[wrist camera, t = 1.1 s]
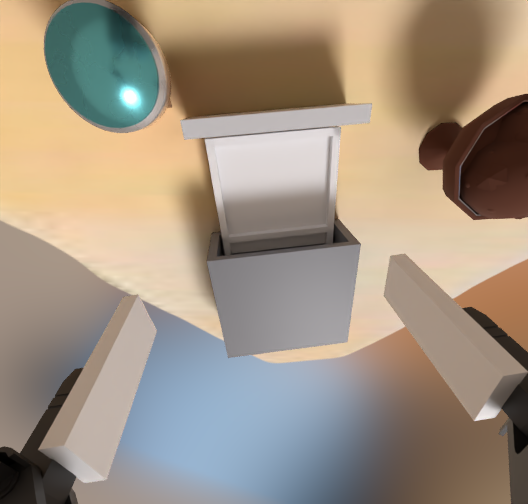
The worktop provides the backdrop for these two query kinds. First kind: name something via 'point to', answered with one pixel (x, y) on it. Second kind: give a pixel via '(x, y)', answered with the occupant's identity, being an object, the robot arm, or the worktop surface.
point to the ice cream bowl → (484, 161)
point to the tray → (275, 173)
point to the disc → (106, 66)
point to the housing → (285, 294)
